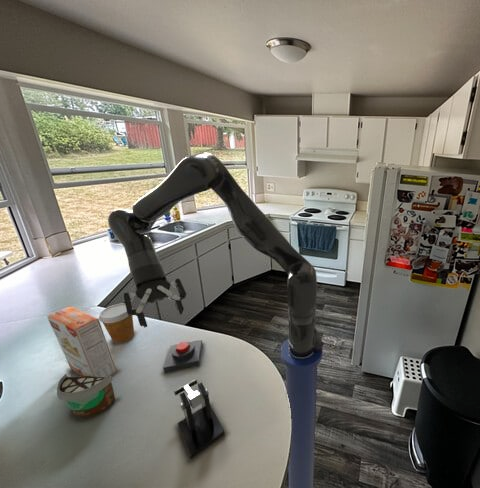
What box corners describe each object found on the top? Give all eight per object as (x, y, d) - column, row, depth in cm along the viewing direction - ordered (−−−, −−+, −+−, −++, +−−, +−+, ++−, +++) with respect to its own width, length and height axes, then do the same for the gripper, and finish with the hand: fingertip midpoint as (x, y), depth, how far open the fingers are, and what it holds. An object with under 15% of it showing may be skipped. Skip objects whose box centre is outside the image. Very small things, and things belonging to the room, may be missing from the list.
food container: (53, 423, 64) (39, 395, 60) (75, 400, 69) (63, 373, 66) (103, 423, 64) (92, 395, 61) (121, 400, 70) (111, 374, 66)
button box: (202, 344, 91) (201, 335, 89) (199, 365, 82) (197, 356, 81) (171, 350, 88) (169, 341, 86) (164, 373, 79) (162, 363, 78)
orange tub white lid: (127, 326, 98) (119, 300, 94) (145, 332, 96) (138, 305, 91) (100, 342, 90) (90, 315, 86) (119, 349, 87) (110, 321, 83)
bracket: (178, 425, 64) (169, 390, 60) (209, 405, 70) (203, 371, 65) (191, 459, 58) (181, 421, 53) (225, 434, 63) (219, 398, 58)
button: (190, 344, 86) (189, 340, 85) (188, 352, 83) (187, 348, 82) (178, 346, 85) (177, 342, 84) (176, 354, 81) (175, 350, 81)
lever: (175, 396, 66) (172, 388, 66) (197, 384, 70) (195, 376, 69) (185, 414, 57) (182, 404, 57) (209, 398, 60) (207, 389, 60)
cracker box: (69, 370, 78) (45, 315, 71) (92, 357, 84) (72, 304, 76) (95, 387, 73) (72, 330, 66) (118, 371, 79) (99, 317, 71)
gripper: (114, 271, 66) (132, 328, 62) (174, 257, 75) (193, 306, 72) (117, 281, 71) (133, 334, 68) (172, 267, 81) (189, 313, 77)
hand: (164, 320), depth 70 cm, fingers open, 8 cm apart
